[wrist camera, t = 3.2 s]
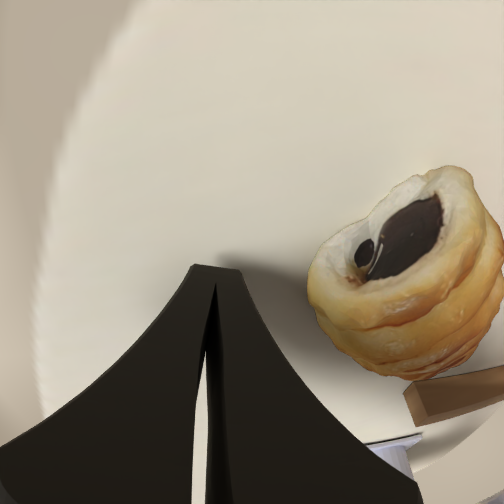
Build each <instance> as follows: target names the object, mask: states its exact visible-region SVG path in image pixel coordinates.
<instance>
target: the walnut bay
mask: <svg viewBox="0 0 504 504" xmlns="http://www.w3.org/2000/svg"><path fill="white" fill-rule="evenodd" d="M403 395H404V397H405V400H406V403H407V405H408V408H409V410H410V413H411V416H412V418H413V421H414V424H415V426H416V427H419V426H424V425H428V424H432V423H435V422H439V421H443V420H446V419H450V418H453V417H456V416H460V415H463V414H466V413H469V412H472V411H475V410H478V409H481V408H483V407H486V406H489V405H491V404H494V403H497V402H499V401H502V400H504V366H500V367H496V368H492V369H487V370H483V371H478V372H473V373H468V374H462V375H457V376H451V377H445V378H438V379H431V380H424V381H416V382H413V383H412V384H411V385H410V386H409V387H408V388H407V390H406V391H405V392H404V393H403Z"/></svg>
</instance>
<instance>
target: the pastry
mask: <svg viewBox="0 0 504 504" xmlns="http://www.w3.org/2000/svg"><path fill="white" fill-rule="evenodd" d="M503 263H504V240H503V237H502V233H501V230H500V227H499V225H498V224H497V222H496V221H495V220H494V219H493V217H492V216H491V215H490V213H489V212H488V211H487V209H486V208H485V207H484V205H483V203H482V202H481V200H480V198H479V196H478V194H477V192H476V190H475V189H474V183H473V177H472V176H471V174H470V173H469V172H467V171H466V170H465V169H463V168H460V167H456V166H444V167H441V168H439V169H436V170H429V171H428V172H427V173H426V174H425V175H418V174H417V175H413V176H412V177H410V178H409V179H407V180H406V181H404V182H402V183H400V184H398V185H397V186H396V187H394V188H393V189H392V191H391V192H390V193H389V194H388V195H387V196H386V197H385V198H384V199H383V200H381V201H380V202H379V203H378V204H377V206H376V207H375V208H374V209H373V210H372V212H371V213H370V214H369V215H368V216H367V218H365V219H364V220H362V221H360V222H357V223H354V224H352V225H350V226H348V227H346V228H344V229H343V230H341V231H340V232H338V233H337V234H335V235H334V236H333V237H331V238H330V239H329V240H327V241H326V242H324V243H323V244H322V246H321V247H320V249H319V250H318V252H317V254H316V256H315V258H314V260H313V262H312V264H311V266H310V268H309V271H308V279H307V297H308V302H309V304H310V305H311V306H313V307H314V309H315V313H316V317H317V322H318V324H319V326H320V328H321V329H322V330H323V331H324V332H325V334H327V335H328V336H329V337H330V338H331V340H332V341H333V343H334V345H335V346H336V347H337V349H338V350H339V351H341V352H343V353H345V354H347V355H349V356H351V357H352V358H353V359H354V360H355V361H356V362H357V363H359V364H360V365H361V366H363V367H364V368H365V369H367V370H369V371H373V372H375V373H378V374H379V375H381V376H397V377H400V378H402V379H404V380H409V381H417V380H427V379H429V378H432V377H434V376H435V375H437V374H439V373H442V372H444V371H446V370H448V369H450V368H453V367H457V366H459V365H461V364H462V363H464V362H466V361H467V360H468V359H469V358H470V357H471V355H472V354H473V353H474V351H475V350H476V348H477V346H478V344H479V342H480V341H481V339H482V338H483V337H484V335H485V334H486V333H487V332H488V330H489V328H490V326H491V322H492V320H493V318H494V317H495V315H496V314H497V313H498V312H499V309H500V302H501V301H502V299H503V297H504V277H503V274H502V270H501V267H502V265H503Z"/></svg>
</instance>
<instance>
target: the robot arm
mask: <svg viewBox="0 0 504 504" xmlns="http://www.w3.org/2000/svg"><path fill="white" fill-rule="evenodd" d="M205 352H206V380H207V406H208V443H207V467H206V492H205V504H424V503H423V499H422V496H421V492H420V490H419V487H418V484H417V482H415V481H414V478H413V474H412V471H411V467H410V464H409V461H408V457H407V454H406V450H408V449H409V448H410V447H412V446H413V445H414V444H416V443H417V442H418V441H420V440H421V439H422V435H421V434H420V435H415V436H411V437H407V438H403V439H398V440H393V441H389V442H383V443H378V444H372V445H366V446H365V445H364V444H363V443H362V442H361V441H360V440H358V439H357V438H356V437H355V436H354V435H353V434H352V433H351V432H350V431H349V430H348V429H347V428H346V427H344V426H343V425H342V424H341V423H340V422H339V421H338V420H337V419H336V418H335V417H334V416H333V415H332V414H331V413H330V412H329V411H328V410H327V409H326V408H325V407H324V405H323V404H322V403H321V402H320V401H319V400H318V399H317V398H316V396H315V395H314V394H313V393H312V392H311V390H310V389H309V388H308V387H307V386H306V385H305V383H304V382H303V381H302V379H301V378H300V377H299V376H298V374H297V373H296V372H295V370H294V369H293V368H292V366H291V365H290V363H289V362H288V361H287V359H286V358H285V356H284V355H283V353H282V352H281V350H280V349H279V347H278V345H277V344H276V342H275V341H274V339H273V337H272V336H271V334H270V332H269V331H268V329H267V327H266V325H265V323H264V322H263V320H262V318H261V316H260V314H259V312H258V310H257V308H256V306H255V304H254V302H253V300H252V298H251V296H250V294H249V291H248V289H247V287H246V284H245V282H244V279H243V276H242V274H241V272H240V271H239V270H236V269H228V268H221V267H214V266H207V265H200V264H194V265H192V266H190V268H189V271H188V273H187V274H186V276H185V278H184V280H183V281H182V283H181V285H180V286H179V288H178V289H177V291H176V292H175V294H174V295H173V296H172V298H171V299H170V300H169V302H168V303H167V304H166V306H165V307H164V309H163V310H162V311H161V312H160V314H159V315H158V316H157V317H156V319H155V320H154V321H153V322H152V323H151V324H150V326H149V327H148V328H147V329H146V330H145V332H144V333H143V334H142V335H141V336H140V337H139V338H138V340H137V341H136V342H135V343H134V344H133V345H132V346H131V347H130V348H129V349H128V350H127V351H126V352H125V353H124V354H123V355H122V356H121V357H120V358H119V359H118V360H117V361H116V362H115V363H114V364H113V365H112V366H111V367H110V368H109V369H108V370H106V371H105V372H104V373H103V374H102V375H101V376H100V377H99V378H98V379H96V380H95V381H94V382H93V383H92V384H91V385H90V386H88V387H87V388H86V389H85V390H84V391H82V392H81V393H80V394H79V395H77V396H76V397H75V398H73V399H72V400H71V401H69V402H68V403H67V404H65V405H64V406H63V407H61V408H60V409H59V410H57V411H56V412H55V413H53V414H52V415H51V416H49V417H48V418H46V419H45V420H43V421H42V422H40V423H39V424H38V425H36V426H34V427H33V428H31V429H29V430H28V431H26V432H24V433H23V434H21V435H19V436H18V437H16V438H14V439H13V440H11V441H10V442H8V443H6V444H4V445H2V446H1V447H0V504H191V500H192V466H193V443H194V425H195V409H196V401H197V395H198V390H199V384H200V379H201V373H202V368H203V363H204V357H205ZM476 504H504V489H503V490H502V491H500V492H498V493H496V494H495V495H493V496H491V497H488V498H486V499H484V500H483V501H481V502H479V503H476Z"/></svg>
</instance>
